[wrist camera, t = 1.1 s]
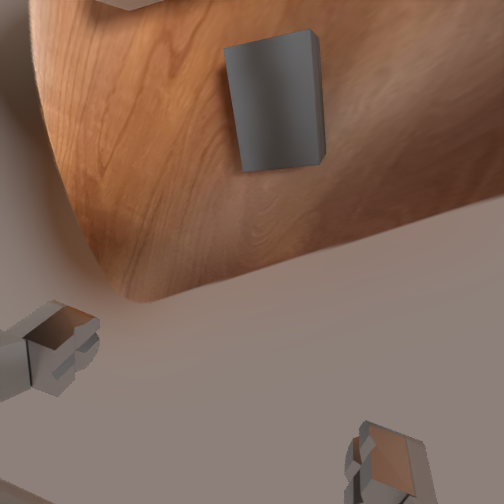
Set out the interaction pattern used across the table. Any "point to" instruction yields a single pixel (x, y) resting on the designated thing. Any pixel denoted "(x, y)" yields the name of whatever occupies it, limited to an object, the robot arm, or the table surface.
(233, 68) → the charcoal block
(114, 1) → the cream board
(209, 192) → the table surface
